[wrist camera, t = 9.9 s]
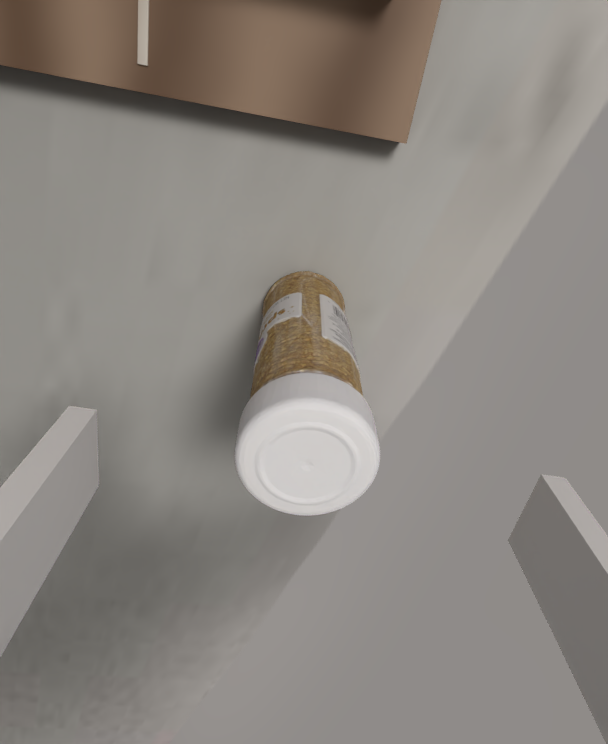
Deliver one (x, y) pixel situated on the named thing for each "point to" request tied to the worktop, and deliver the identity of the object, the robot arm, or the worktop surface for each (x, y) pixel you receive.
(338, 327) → the sprinkles bottle
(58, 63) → the board
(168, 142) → the worktop surface
